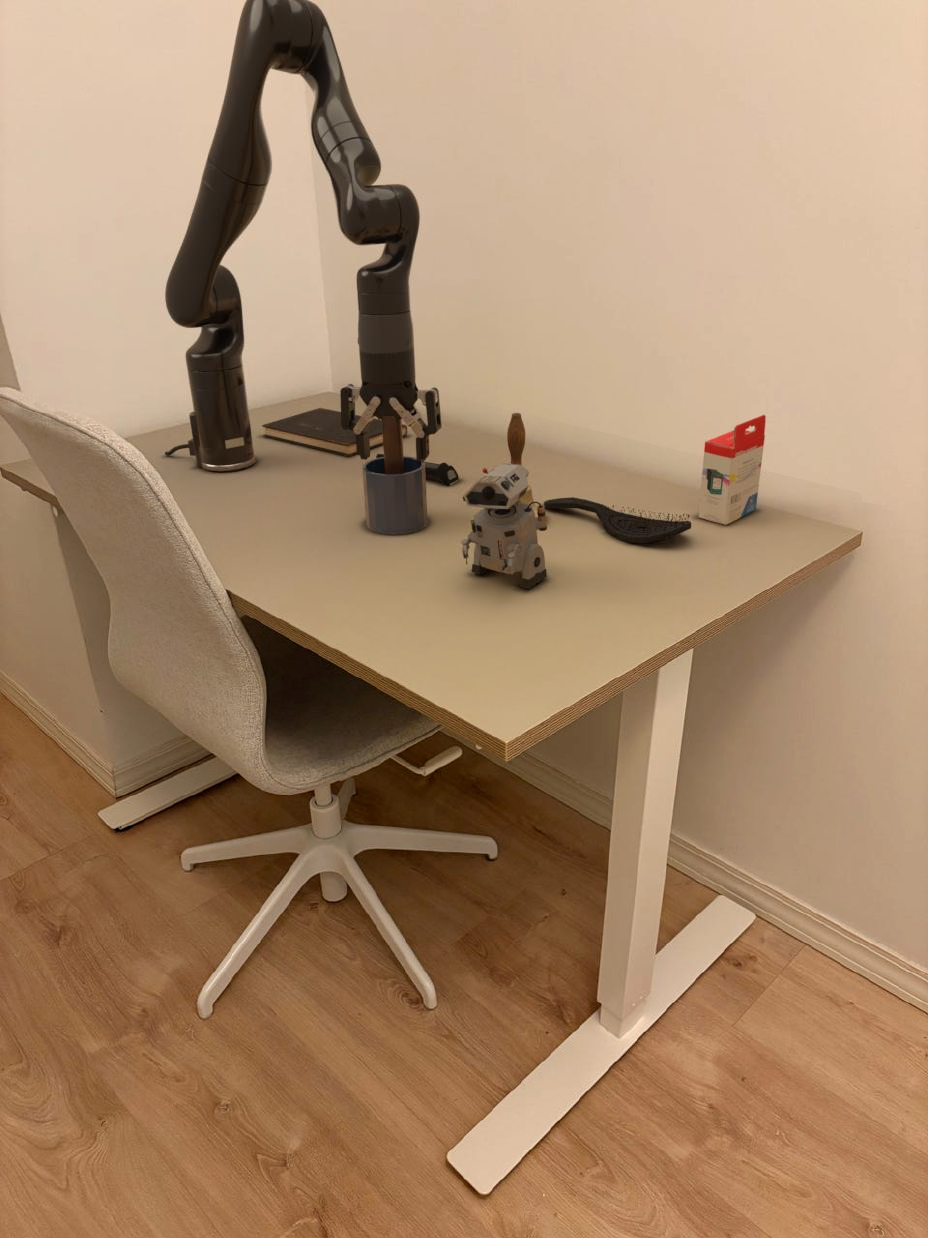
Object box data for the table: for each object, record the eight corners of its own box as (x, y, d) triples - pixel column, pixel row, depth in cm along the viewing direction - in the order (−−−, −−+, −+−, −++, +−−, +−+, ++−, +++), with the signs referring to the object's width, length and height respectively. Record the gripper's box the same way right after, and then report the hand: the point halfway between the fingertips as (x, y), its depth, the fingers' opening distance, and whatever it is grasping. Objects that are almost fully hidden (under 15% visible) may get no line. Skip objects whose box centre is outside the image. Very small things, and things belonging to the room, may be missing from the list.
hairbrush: (562, 481, 150) (704, 510, 134) (562, 504, 152) (703, 535, 136) (527, 495, 145) (670, 527, 129) (528, 518, 147) (670, 553, 131)
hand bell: (479, 516, 146) (477, 411, 139) (529, 507, 149) (529, 404, 142) (503, 534, 139) (502, 425, 132) (554, 524, 142) (556, 417, 135)
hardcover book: (348, 456, 174) (347, 444, 173) (263, 436, 187) (261, 424, 186) (407, 435, 185) (407, 423, 184) (323, 418, 198) (322, 406, 197)
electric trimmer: (385, 467, 169) (384, 449, 167) (460, 480, 161) (459, 461, 160) (372, 473, 166) (370, 455, 164) (447, 486, 158) (447, 467, 157)
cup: (357, 532, 141) (352, 473, 137) (379, 510, 149) (375, 454, 145) (416, 537, 139) (413, 477, 135) (435, 515, 147) (432, 457, 143)
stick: (385, 522, 143) (378, 415, 136) (391, 515, 145) (385, 410, 138) (403, 523, 142) (397, 416, 135) (409, 517, 145) (403, 411, 137)
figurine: (444, 590, 123) (440, 477, 116) (497, 560, 131) (496, 452, 124) (503, 608, 118) (503, 490, 111) (554, 575, 126) (556, 464, 119)
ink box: (728, 503, 148) (738, 408, 142) (757, 510, 145) (768, 413, 138) (696, 518, 143) (705, 420, 136) (726, 526, 140) (736, 426, 133)
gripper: (444, 341, 134) (448, 455, 141) (348, 338, 137) (356, 449, 145) (427, 352, 127) (432, 471, 135) (327, 348, 131) (337, 464, 138)
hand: (393, 459), depth 140 cm, fingers open, 8 cm apart
